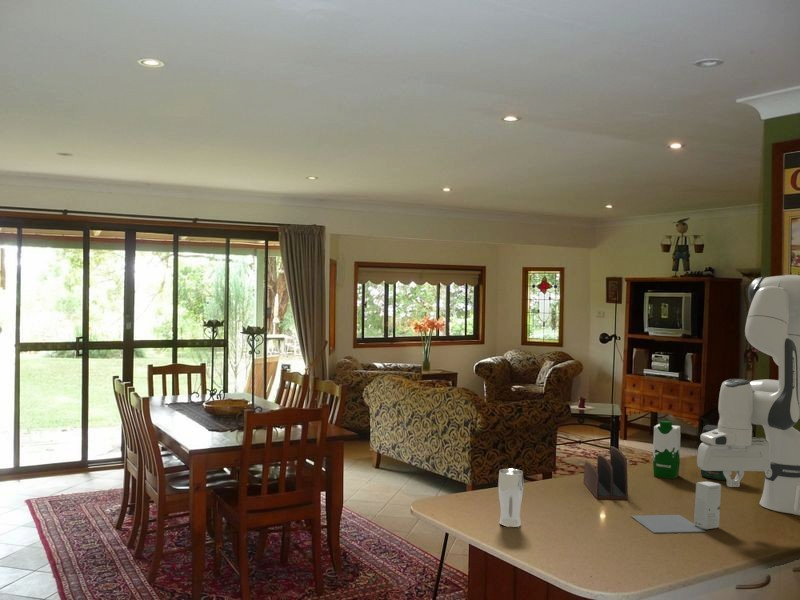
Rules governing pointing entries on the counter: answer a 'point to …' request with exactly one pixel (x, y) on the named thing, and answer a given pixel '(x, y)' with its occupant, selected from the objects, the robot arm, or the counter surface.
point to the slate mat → (667, 524)
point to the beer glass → (510, 496)
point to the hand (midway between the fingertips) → (733, 486)
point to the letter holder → (608, 476)
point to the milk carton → (666, 450)
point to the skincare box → (707, 505)
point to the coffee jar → (712, 474)
